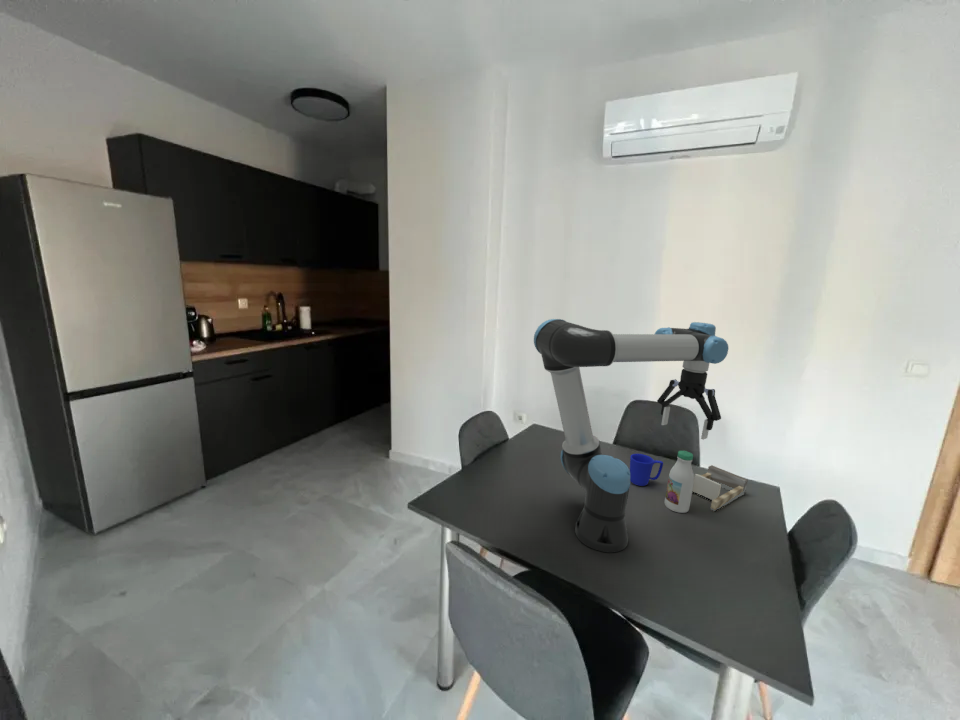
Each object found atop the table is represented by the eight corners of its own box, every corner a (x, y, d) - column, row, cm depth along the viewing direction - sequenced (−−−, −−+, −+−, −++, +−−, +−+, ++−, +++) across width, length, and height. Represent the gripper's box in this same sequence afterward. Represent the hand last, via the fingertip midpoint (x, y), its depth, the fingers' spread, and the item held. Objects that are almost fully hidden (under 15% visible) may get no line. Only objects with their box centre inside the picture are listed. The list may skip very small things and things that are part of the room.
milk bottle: (683, 502, 144) (693, 449, 139) (692, 514, 136) (702, 459, 132) (661, 499, 144) (669, 447, 140) (668, 512, 137) (678, 456, 133)
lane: (714, 511, 139) (717, 495, 137) (678, 494, 149) (680, 479, 148) (744, 494, 151) (747, 479, 150) (709, 479, 162) (711, 465, 160)
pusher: (716, 503, 143) (720, 485, 142) (691, 491, 150) (695, 474, 149) (722, 500, 146) (725, 482, 144) (697, 489, 152) (700, 471, 151)
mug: (663, 489, 152) (668, 464, 150) (631, 487, 152) (635, 462, 150) (655, 478, 160) (658, 454, 158) (624, 476, 160) (627, 452, 158)
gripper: (741, 378, 126) (727, 442, 130) (664, 361, 145) (654, 417, 150) (731, 380, 122) (717, 447, 126) (653, 362, 141) (643, 421, 145)
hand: (683, 431), depth 138 cm, fingers open, 13 cm apart
